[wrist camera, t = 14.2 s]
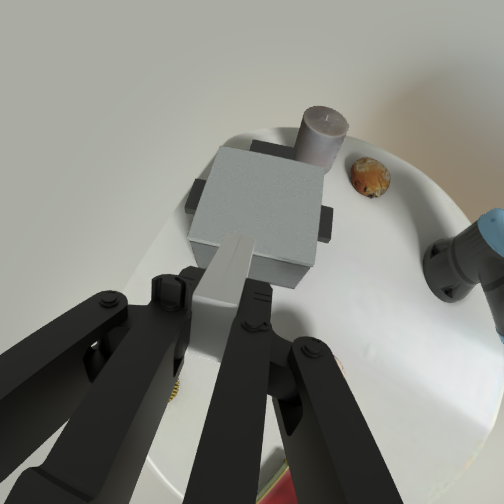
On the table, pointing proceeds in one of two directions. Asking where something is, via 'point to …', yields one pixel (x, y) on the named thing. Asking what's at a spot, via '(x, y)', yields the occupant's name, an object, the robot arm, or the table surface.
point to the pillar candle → (320, 136)
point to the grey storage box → (259, 266)
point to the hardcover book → (278, 489)
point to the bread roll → (370, 177)
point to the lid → (262, 202)
